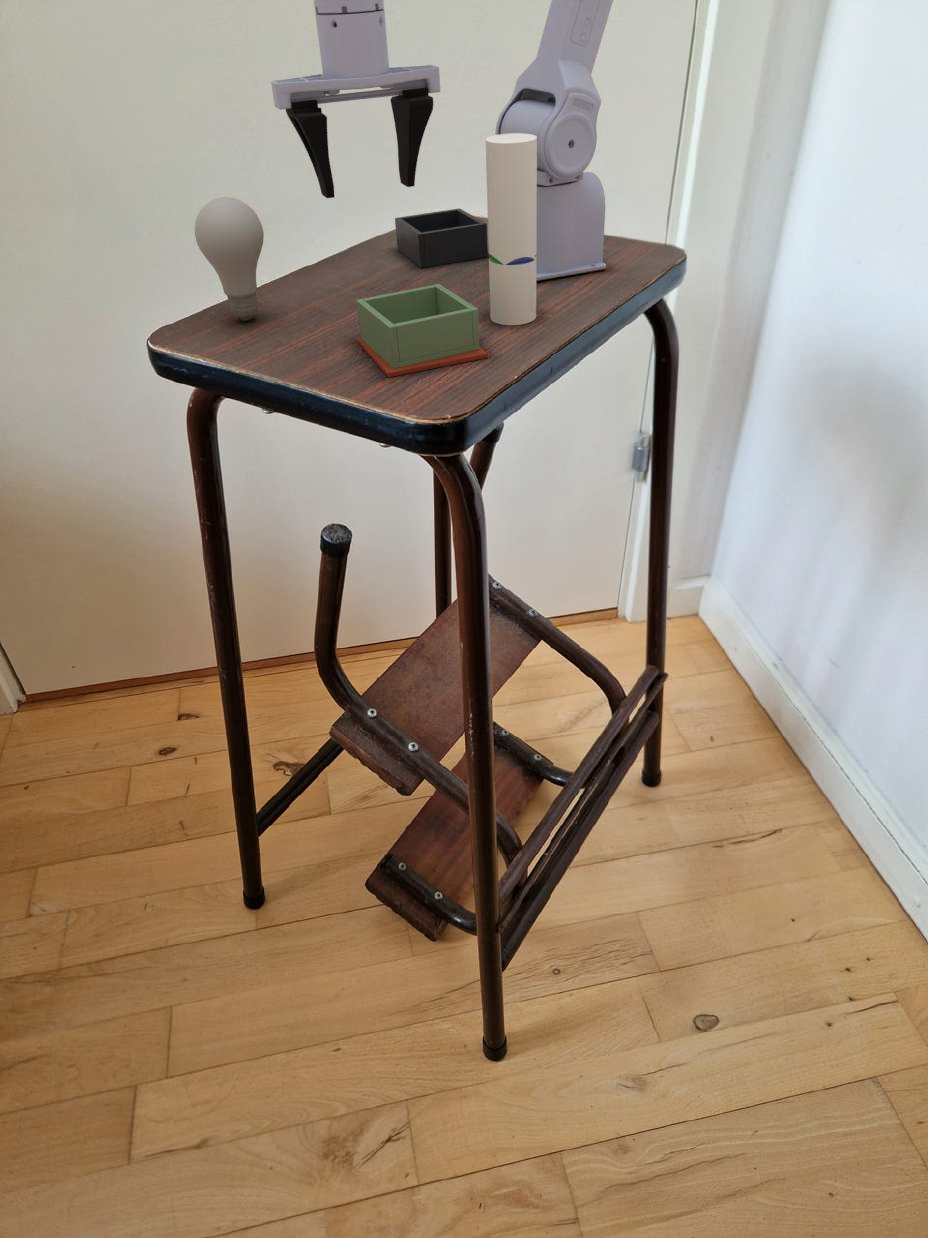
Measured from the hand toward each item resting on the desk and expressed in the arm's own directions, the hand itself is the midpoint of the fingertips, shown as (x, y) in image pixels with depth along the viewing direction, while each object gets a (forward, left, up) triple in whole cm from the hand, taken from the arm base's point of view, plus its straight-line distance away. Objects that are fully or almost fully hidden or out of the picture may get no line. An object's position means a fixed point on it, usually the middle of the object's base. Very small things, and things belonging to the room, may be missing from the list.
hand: (368, 190), depth 81 cm
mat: (0, +14, -10) cm, 17 cm away
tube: (-10, +10, -11) cm, 18 cm away
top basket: (+1, +13, -10) cm, 17 cm away
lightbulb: (+13, -2, -11) cm, 17 cm away
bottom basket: (-12, -13, -10) cm, 20 cm away
